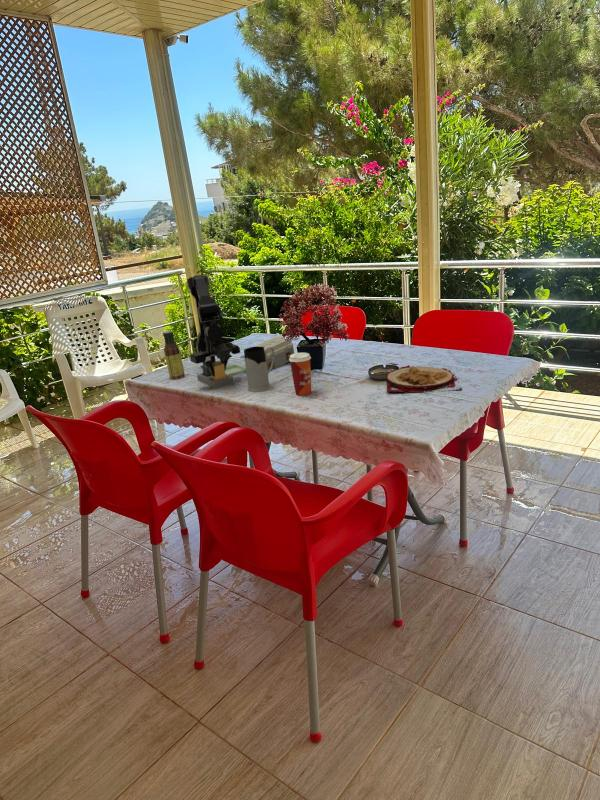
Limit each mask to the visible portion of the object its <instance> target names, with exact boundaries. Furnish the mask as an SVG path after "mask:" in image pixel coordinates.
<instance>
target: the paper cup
mask: <svg viewBox="0 0 600 800" xmlns="http://www.w3.org/2000/svg"><path fill="white" fill-rule="evenodd" d="M311 359H312V357H311V355H310V353H309V352H294V354H292V355H290V358H289V363H290V369H291V374H292V381H293V388H294V393H295V395H296V396H299V397H303V396H305V397H306V396H309V395H310V394H311V393H312V375H311V374H312V373H311V371H312V370H311Z"/></svg>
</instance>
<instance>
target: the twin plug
mask: <svg viewBox="0 0 600 800" xmlns="http://www.w3.org/2000/svg"><path fill="white" fill-rule="evenodd" d="M201 366H202V365H201ZM201 368H202V373H203V374H204V376H206V377H208V376H212V374H211V373H210V371H209V369H208V368H207V366H206V365H204V366H202V367H201Z"/></svg>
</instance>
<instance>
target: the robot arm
mask: <svg viewBox="0 0 600 800" xmlns="http://www.w3.org/2000/svg"><path fill="white" fill-rule="evenodd" d="M186 285H187V290H189V292H190V294H191V296H192V297H193V298H194V300H195V308H196V314H197V315H196V316H197V321H198V327H199V332H198V334H197V335H196V338H197V341H196V342H195V343H196V351H197V352H195V353H191V354H190V356H189V358H190V359H189V360H190V362H192V363H194V364H202V365H200V367H201V368H202V366H204V365H206V366H207V368H208V369H209V371H210V373H211V374H212V376H213V377H215V374H214V369H213V362H216V361H217V360H216V358H217V359H219V361H220V362H221V363H223V364H224V367H225V370H226V367H227V366H228V361H229V360H230V358H232V357H233V355H237V354H241V349H240V346H239V345H237V344H234V343H232V342H231V341H228V342H226V343H225V342H224V341H223V340H224V339H223V336H224V329H222V327H221V325H219V322H222V321H223V311H222V309H221V307H220V305H219V304H218V303H217V302H216V299H215V298H213V297H212V296H211V294H210V292H209V288H208V287H210V279H209V276H208V275H204V274H196V275H193V276H191V277H190V276H189V278H187V280H186Z"/></svg>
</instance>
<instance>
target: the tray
mask: <svg viewBox="0 0 600 800" xmlns="http://www.w3.org/2000/svg"><path fill="white" fill-rule="evenodd" d="M245 373H246V366H244V365H242V364H239V363H233V364H231V365H226V370H225V374H226V375H229V376H231V377H234V376H237V375H238V376H239V375H241V374H245Z"/></svg>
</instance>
